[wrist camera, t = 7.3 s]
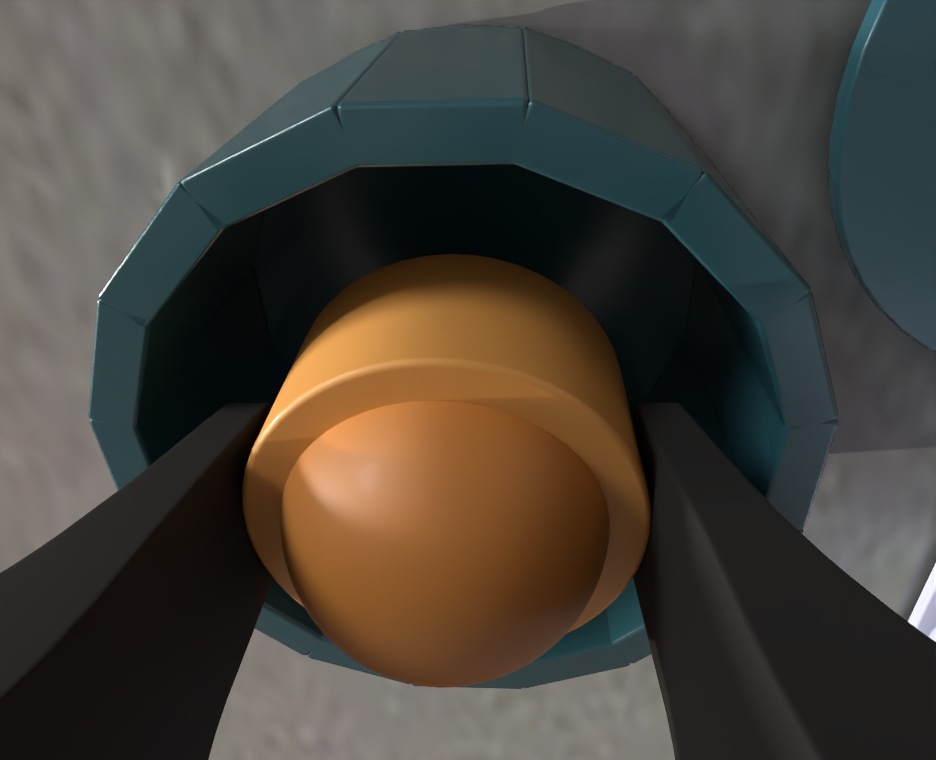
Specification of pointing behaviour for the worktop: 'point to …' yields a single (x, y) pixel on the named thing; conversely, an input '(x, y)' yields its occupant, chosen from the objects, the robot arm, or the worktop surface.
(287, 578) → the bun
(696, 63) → the worktop surface
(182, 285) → the pot
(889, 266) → the lid
